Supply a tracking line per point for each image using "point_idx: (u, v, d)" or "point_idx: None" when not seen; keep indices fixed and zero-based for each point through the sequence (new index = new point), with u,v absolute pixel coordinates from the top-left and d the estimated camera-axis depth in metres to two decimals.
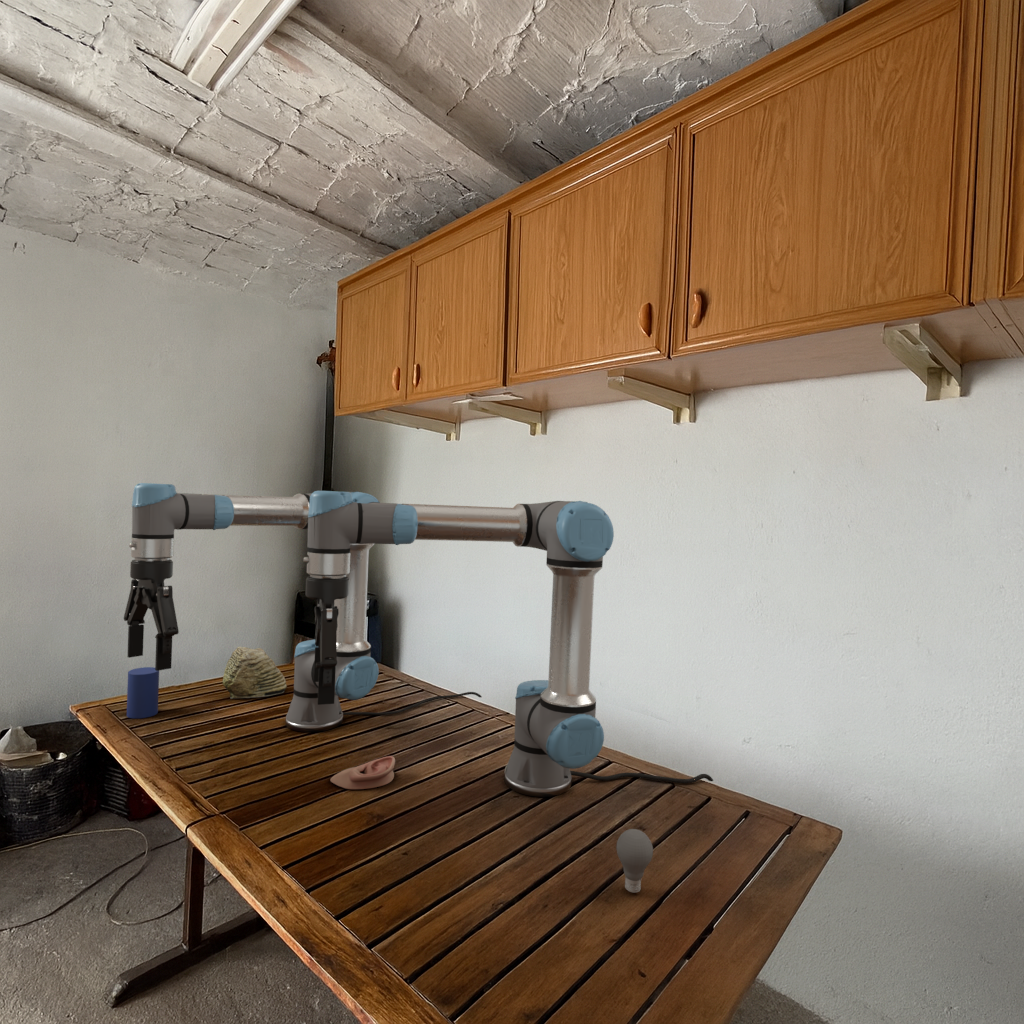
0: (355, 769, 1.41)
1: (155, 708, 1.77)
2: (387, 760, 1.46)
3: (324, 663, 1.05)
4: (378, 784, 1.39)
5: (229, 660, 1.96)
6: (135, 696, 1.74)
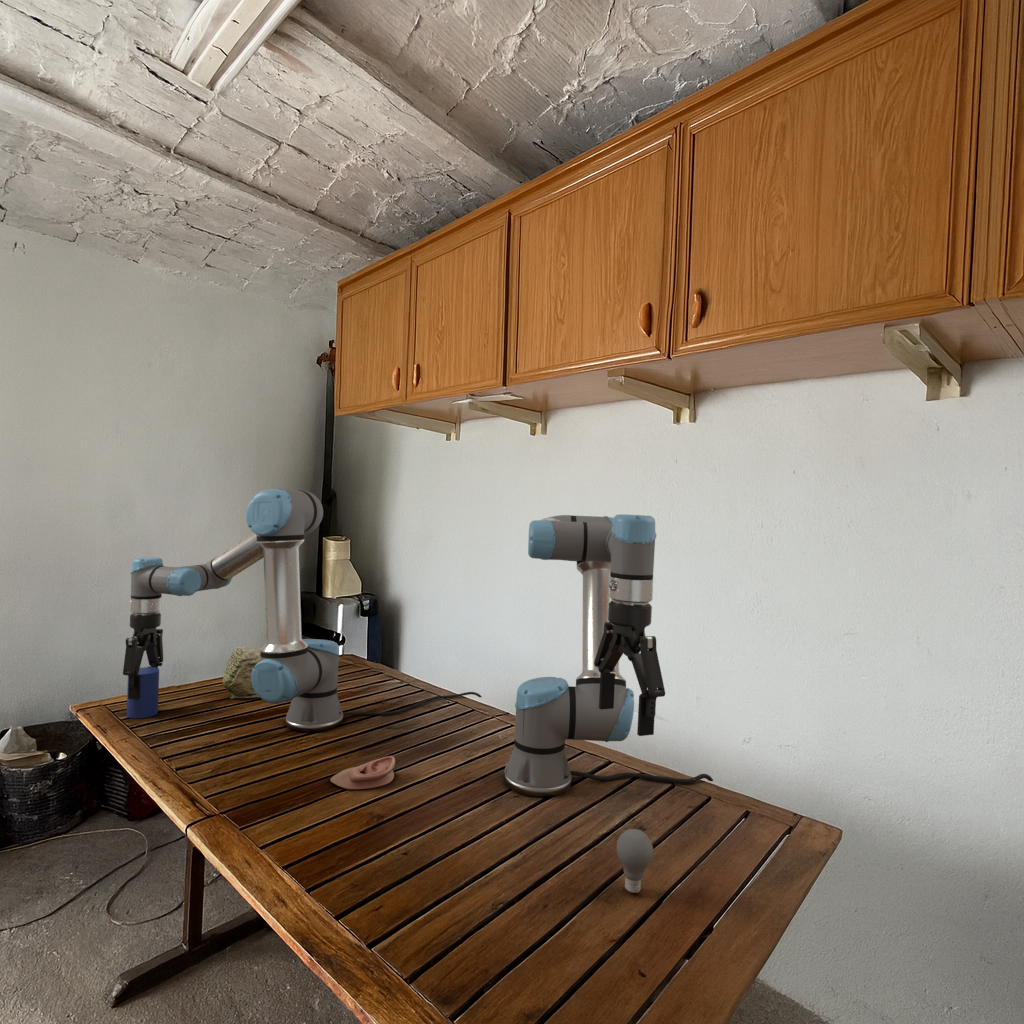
0: (355, 769, 1.41)
1: (155, 708, 1.77)
2: (387, 760, 1.46)
3: (654, 694, 1.03)
4: (378, 784, 1.39)
5: (229, 660, 1.96)
6: None
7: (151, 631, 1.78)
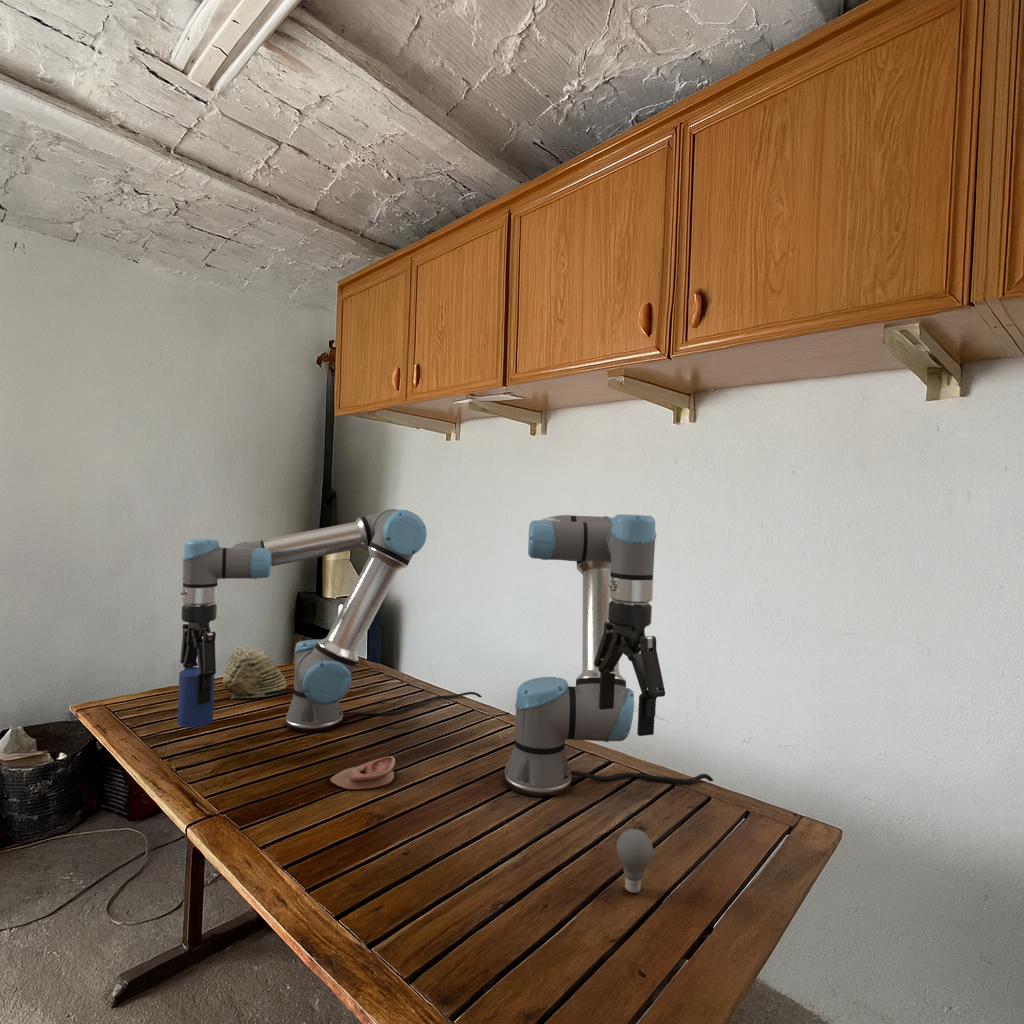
0: (355, 769, 1.41)
1: None
2: (387, 760, 1.46)
3: (654, 694, 1.03)
4: (378, 784, 1.39)
5: (229, 660, 1.96)
6: None
7: None
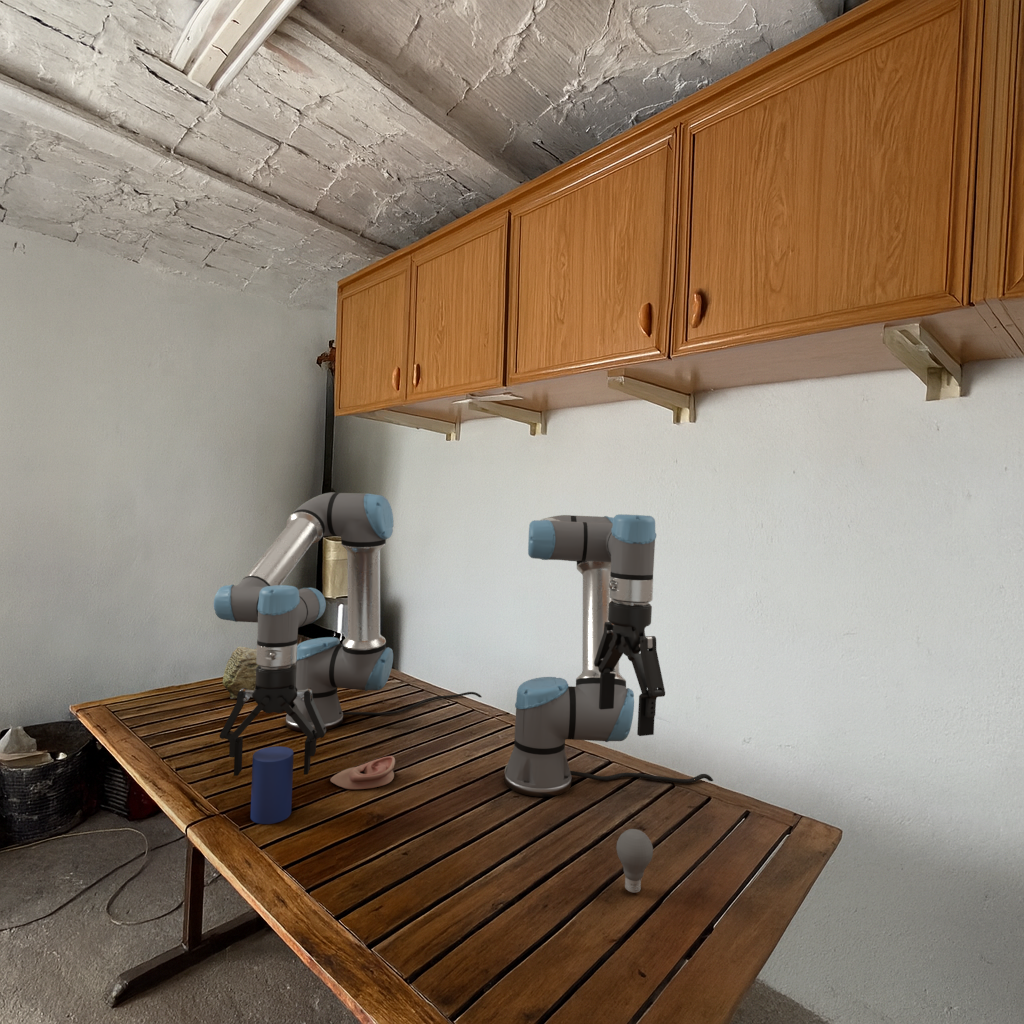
0: (355, 769, 1.41)
1: None
2: (387, 760, 1.46)
3: (654, 694, 1.03)
4: (378, 784, 1.39)
5: (229, 660, 1.96)
6: None
7: None
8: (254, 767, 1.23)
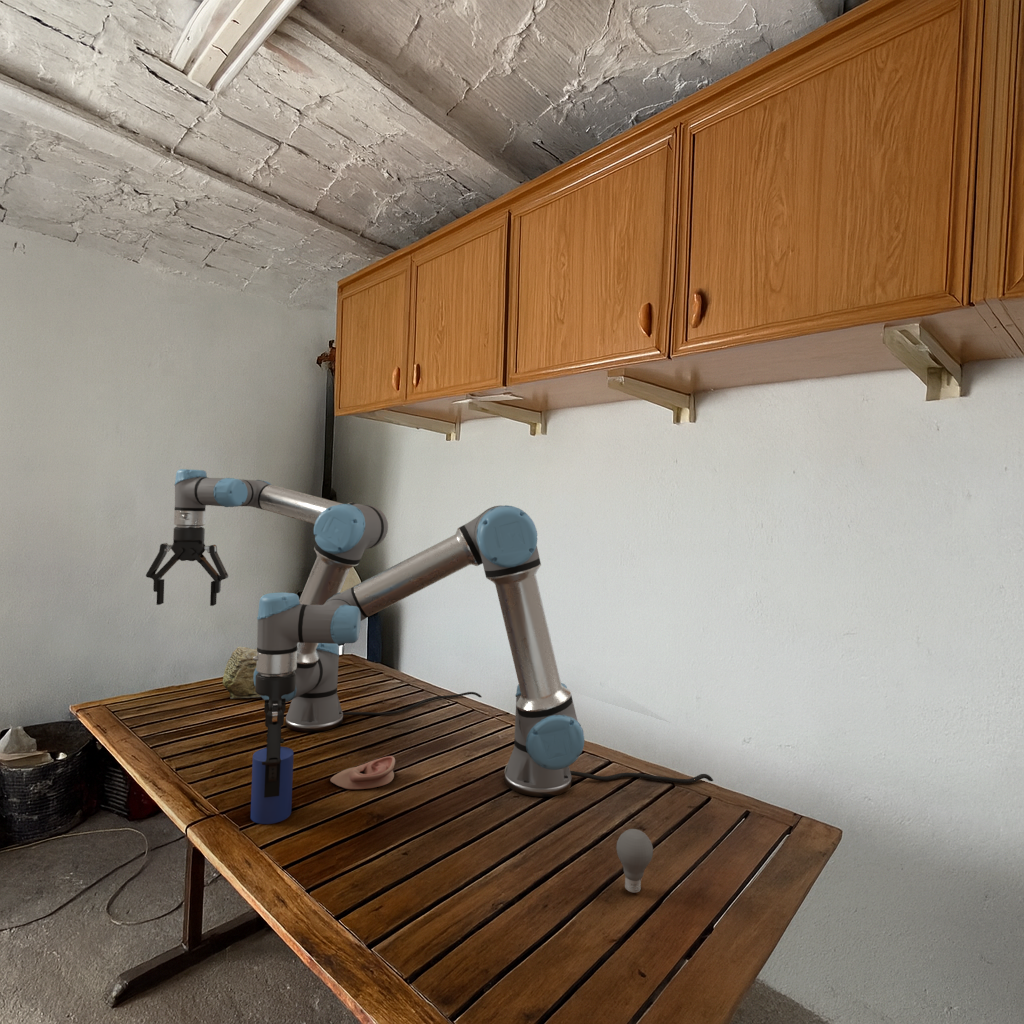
0: (355, 769, 1.41)
1: None
2: (387, 760, 1.46)
3: (268, 762, 1.18)
4: (378, 784, 1.39)
5: (229, 660, 1.96)
6: None
7: None
8: (254, 767, 1.23)
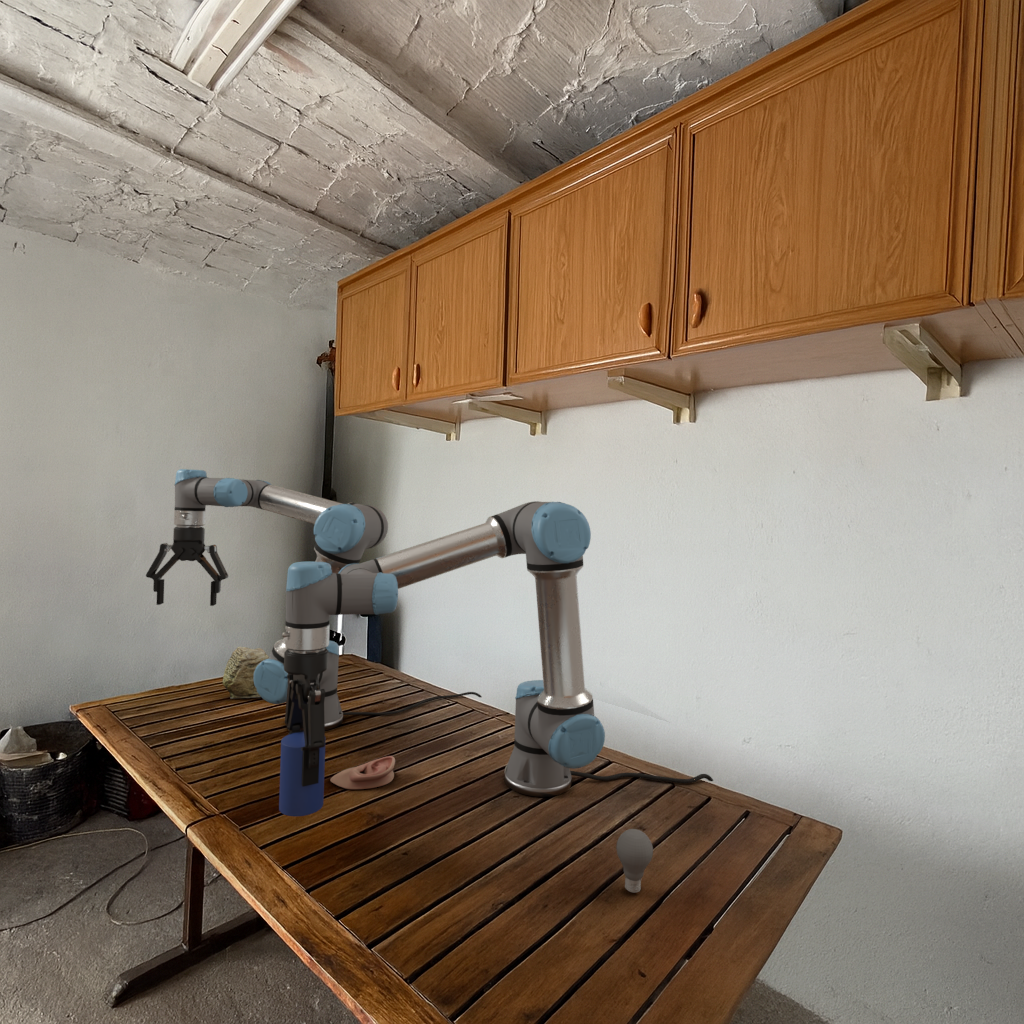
0: (355, 769, 1.41)
1: None
2: (387, 760, 1.46)
3: (313, 746, 1.07)
4: (378, 784, 1.39)
5: (229, 660, 1.96)
6: (324, 769, 1.15)
7: None
8: (287, 755, 1.10)
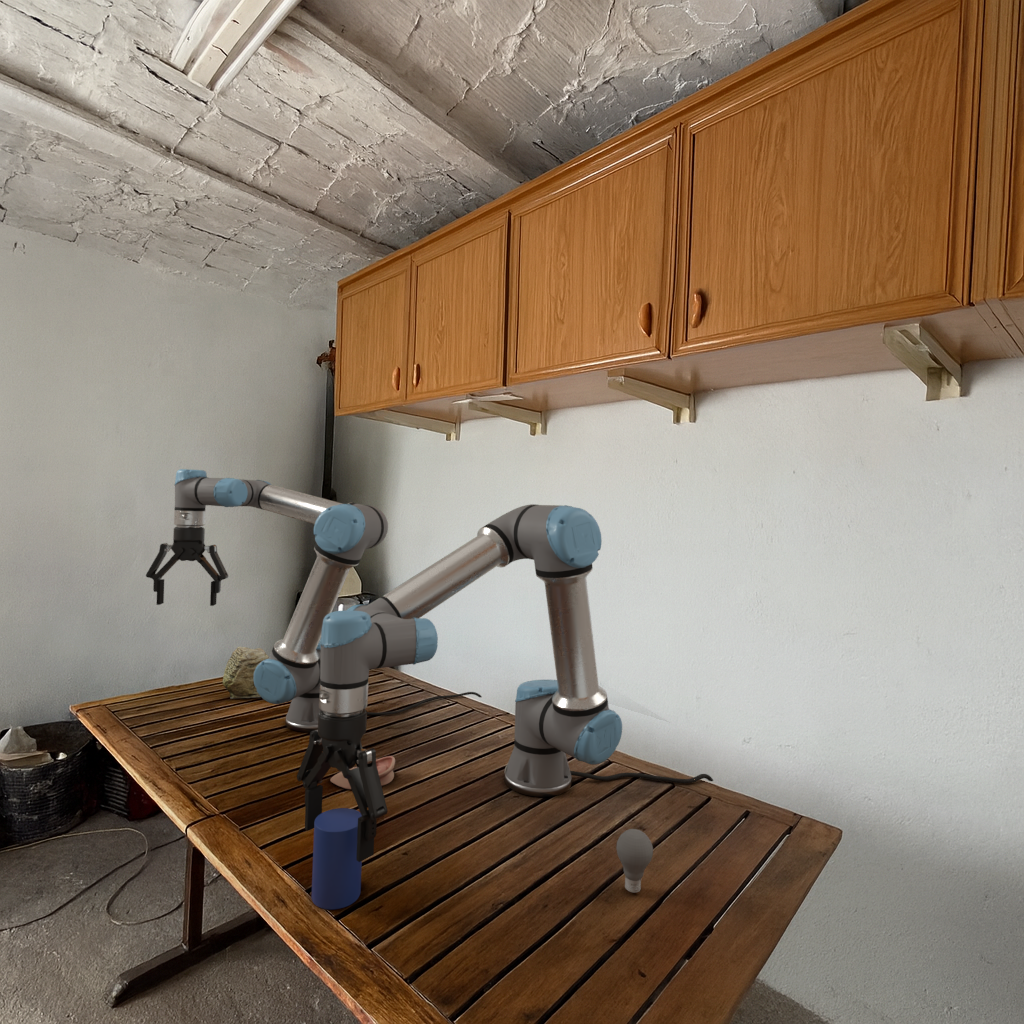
0: None
1: None
2: (387, 760, 1.46)
3: (377, 816, 0.94)
4: None
5: (229, 660, 1.96)
6: None
7: None
8: (327, 842, 0.98)
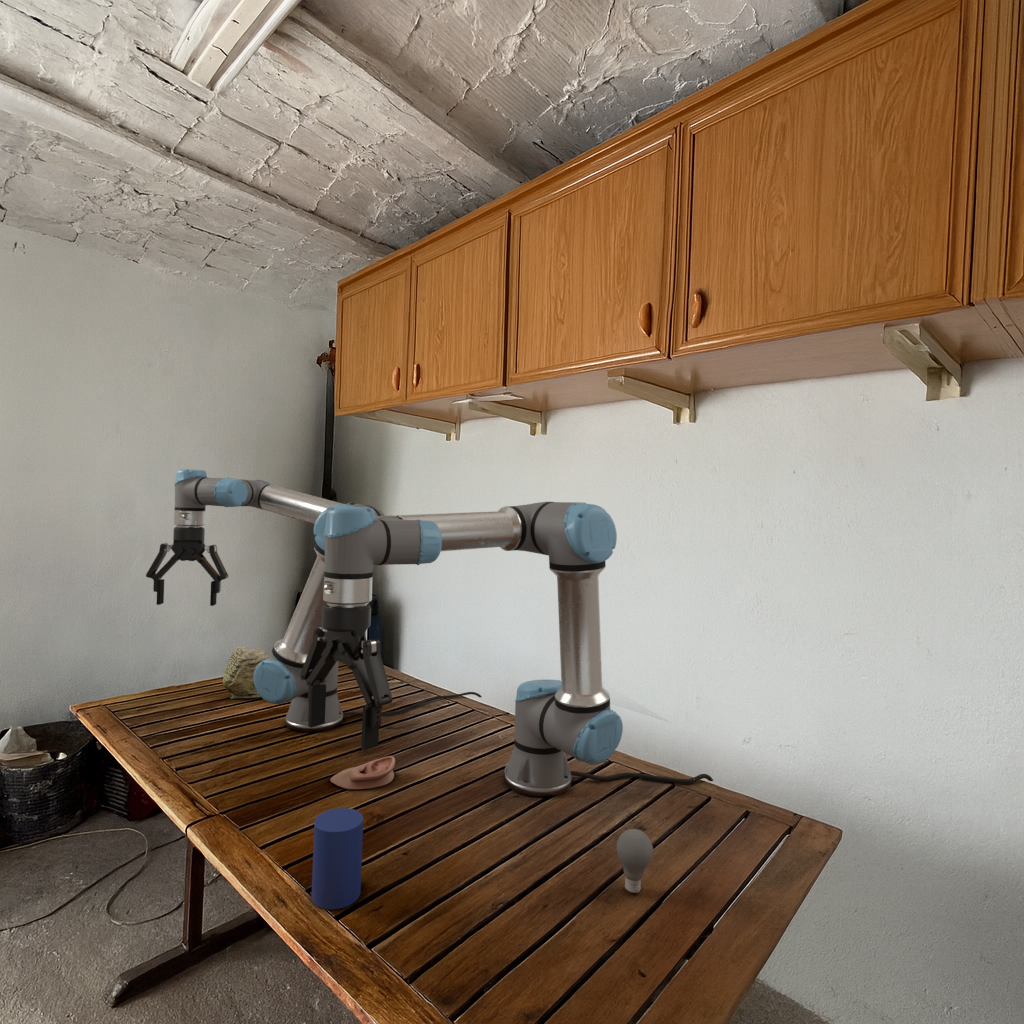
0: (355, 769, 1.41)
1: None
2: (387, 760, 1.46)
3: (382, 702, 0.94)
4: (378, 784, 1.39)
5: (229, 660, 1.96)
6: None
7: None
8: (327, 842, 0.98)
